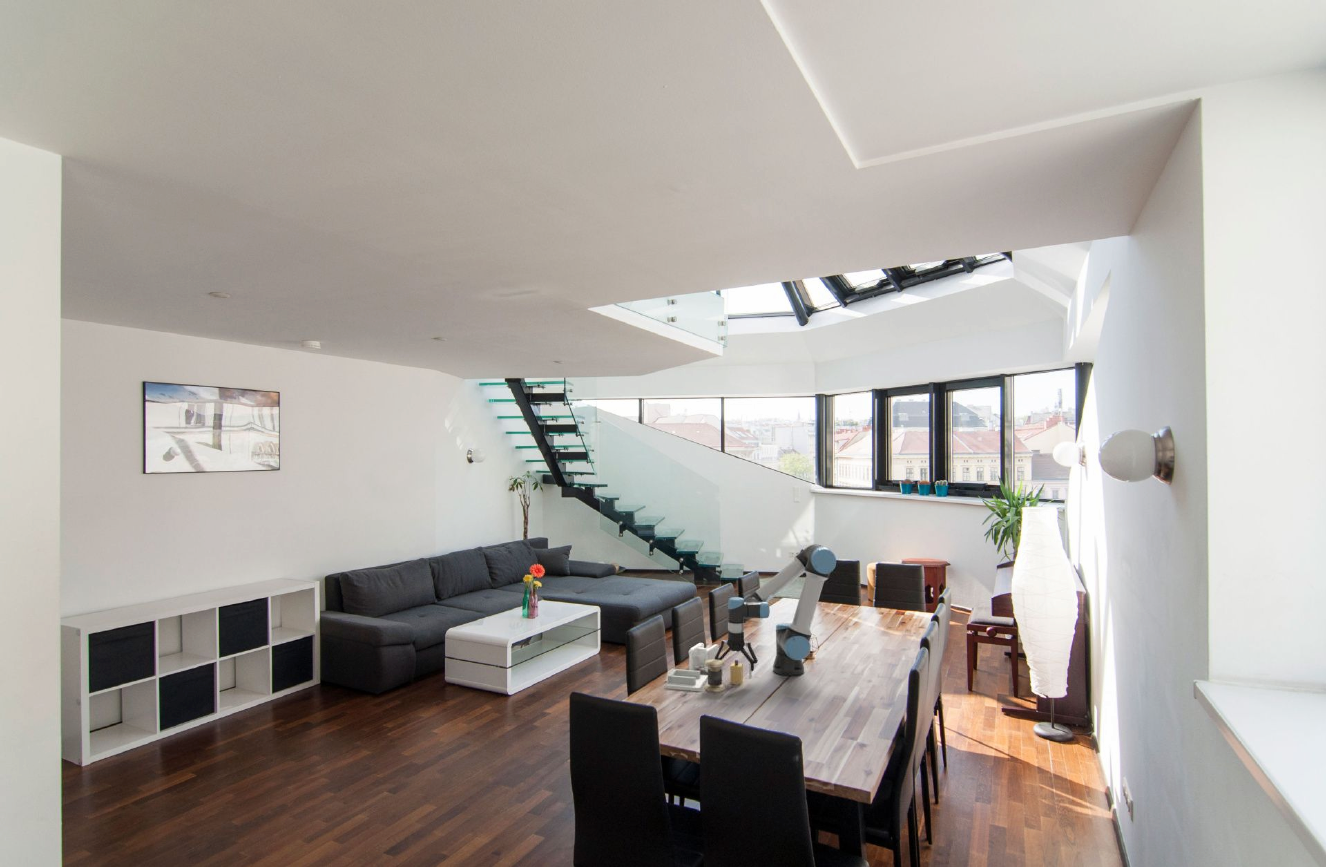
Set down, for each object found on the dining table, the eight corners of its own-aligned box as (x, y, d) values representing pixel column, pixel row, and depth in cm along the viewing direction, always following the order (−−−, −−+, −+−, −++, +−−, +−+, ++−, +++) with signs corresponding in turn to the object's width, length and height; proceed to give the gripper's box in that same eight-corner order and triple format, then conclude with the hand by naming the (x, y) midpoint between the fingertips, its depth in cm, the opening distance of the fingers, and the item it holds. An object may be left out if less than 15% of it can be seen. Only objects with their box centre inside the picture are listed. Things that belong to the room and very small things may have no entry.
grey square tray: (708, 678, 320) (708, 669, 320) (699, 691, 303) (699, 681, 303) (675, 676, 325) (675, 666, 325) (665, 688, 307) (665, 678, 307)
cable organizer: (707, 675, 325) (707, 651, 325) (688, 672, 330) (687, 648, 330) (719, 666, 338) (719, 643, 339) (700, 664, 343) (700, 641, 343)
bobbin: (726, 686, 309) (726, 660, 309) (722, 693, 300) (722, 666, 301) (707, 684, 312) (707, 658, 312) (703, 691, 303) (702, 664, 303)
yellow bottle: (742, 680, 317) (742, 659, 317) (741, 684, 312) (740, 662, 313) (732, 679, 318) (732, 658, 319) (730, 683, 314) (730, 661, 314)
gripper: (763, 631, 316) (763, 676, 315) (711, 627, 323) (711, 671, 322) (761, 635, 309) (761, 681, 308) (708, 631, 316) (708, 676, 315)
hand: (736, 676), depth 315 cm, fingers open, 13 cm apart
